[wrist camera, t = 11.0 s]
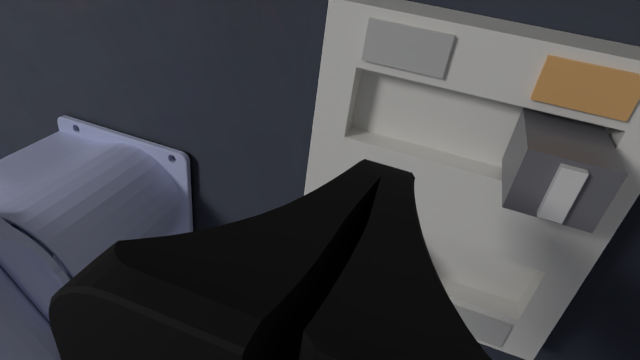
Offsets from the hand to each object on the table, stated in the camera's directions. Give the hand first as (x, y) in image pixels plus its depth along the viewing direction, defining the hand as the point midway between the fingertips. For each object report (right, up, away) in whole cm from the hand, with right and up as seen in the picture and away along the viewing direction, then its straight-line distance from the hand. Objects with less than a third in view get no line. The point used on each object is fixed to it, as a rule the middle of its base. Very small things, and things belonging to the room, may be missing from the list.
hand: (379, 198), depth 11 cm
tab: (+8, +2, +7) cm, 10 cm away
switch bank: (+5, +1, +10) cm, 11 cm away
